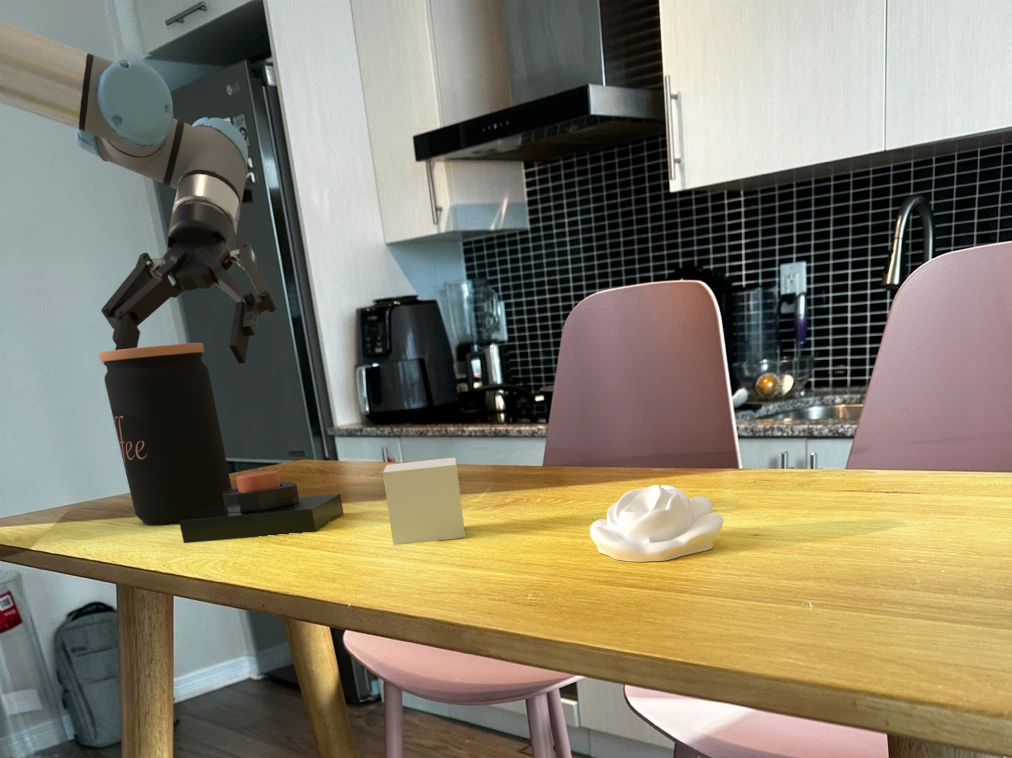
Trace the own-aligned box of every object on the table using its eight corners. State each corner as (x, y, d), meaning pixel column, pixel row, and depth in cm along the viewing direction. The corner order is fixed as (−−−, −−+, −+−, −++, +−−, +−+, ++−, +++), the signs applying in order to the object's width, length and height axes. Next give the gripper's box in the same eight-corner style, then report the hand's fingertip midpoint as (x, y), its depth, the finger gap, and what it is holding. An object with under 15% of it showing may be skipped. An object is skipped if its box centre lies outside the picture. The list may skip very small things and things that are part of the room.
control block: (183, 543, 98) (174, 501, 96) (222, 525, 107) (215, 486, 105) (315, 532, 96) (308, 489, 95) (344, 514, 105) (337, 475, 104)
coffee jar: (140, 518, 119) (103, 353, 112) (235, 505, 121) (203, 344, 115) (134, 531, 109) (92, 352, 103) (237, 517, 111) (202, 341, 105)
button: (232, 496, 99) (229, 478, 98) (247, 490, 102) (244, 472, 102) (272, 493, 98) (269, 474, 97) (286, 487, 102) (282, 469, 101)
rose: (742, 472, 74) (696, 495, 66) (743, 533, 76) (699, 563, 68) (615, 476, 79) (558, 498, 71) (619, 534, 80) (564, 562, 72)
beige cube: (464, 526, 91) (456, 457, 89) (465, 538, 86) (456, 464, 84) (396, 533, 91) (386, 464, 89) (393, 545, 85) (382, 472, 83)
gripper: (313, 240, 126) (297, 373, 117) (122, 263, 129) (92, 394, 120) (292, 187, 119) (273, 323, 111) (91, 212, 122) (57, 347, 114)
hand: (179, 360), depth 116 cm, fingers open, 13 cm apart
